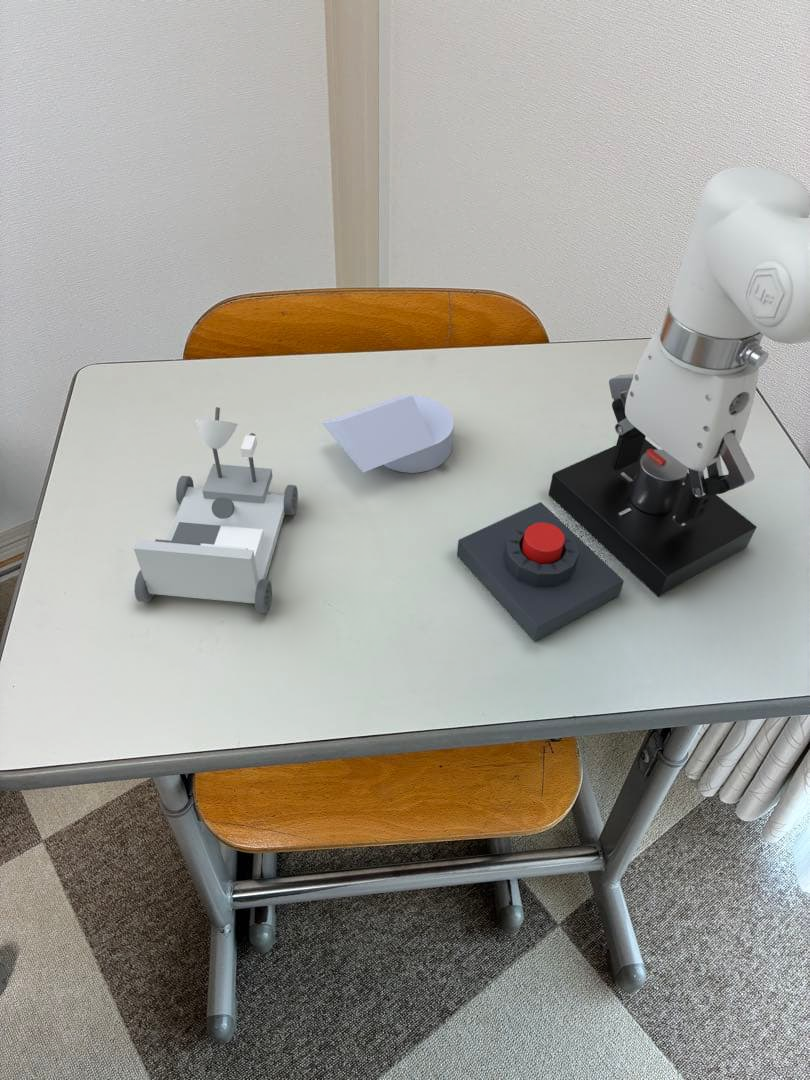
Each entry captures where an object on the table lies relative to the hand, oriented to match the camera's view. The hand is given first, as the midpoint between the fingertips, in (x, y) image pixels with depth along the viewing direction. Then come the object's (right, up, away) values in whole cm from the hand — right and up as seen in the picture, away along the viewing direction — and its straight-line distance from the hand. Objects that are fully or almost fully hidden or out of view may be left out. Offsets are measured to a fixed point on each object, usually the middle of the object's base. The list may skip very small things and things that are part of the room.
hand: (655, 489), depth 77 cm
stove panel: (0, -3, +3) cm, 4 cm away
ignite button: (-12, -6, -5) cm, 14 cm away
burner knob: (0, -1, +1) cm, 1 cm away
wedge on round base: (-25, +5, +10) cm, 28 cm away
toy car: (-42, -5, 0) cm, 42 cm away
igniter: (-12, -8, -2) cm, 15 cm away
